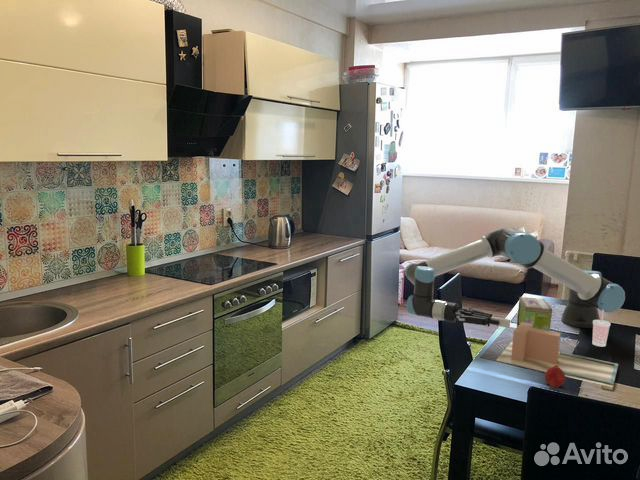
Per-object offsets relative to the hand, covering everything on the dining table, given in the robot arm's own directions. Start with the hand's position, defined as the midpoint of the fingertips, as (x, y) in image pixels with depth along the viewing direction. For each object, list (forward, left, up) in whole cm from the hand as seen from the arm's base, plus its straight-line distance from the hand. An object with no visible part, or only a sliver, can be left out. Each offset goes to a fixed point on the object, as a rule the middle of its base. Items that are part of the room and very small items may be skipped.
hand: (509, 323), depth 192 cm
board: (-10, +13, -11) cm, 20 cm away
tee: (-6, +8, -10) cm, 14 cm away
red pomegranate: (+5, +27, -12) cm, 30 cm away
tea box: (-21, -11, -12) cm, 26 cm away
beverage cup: (-41, +3, -12) cm, 43 cm away
